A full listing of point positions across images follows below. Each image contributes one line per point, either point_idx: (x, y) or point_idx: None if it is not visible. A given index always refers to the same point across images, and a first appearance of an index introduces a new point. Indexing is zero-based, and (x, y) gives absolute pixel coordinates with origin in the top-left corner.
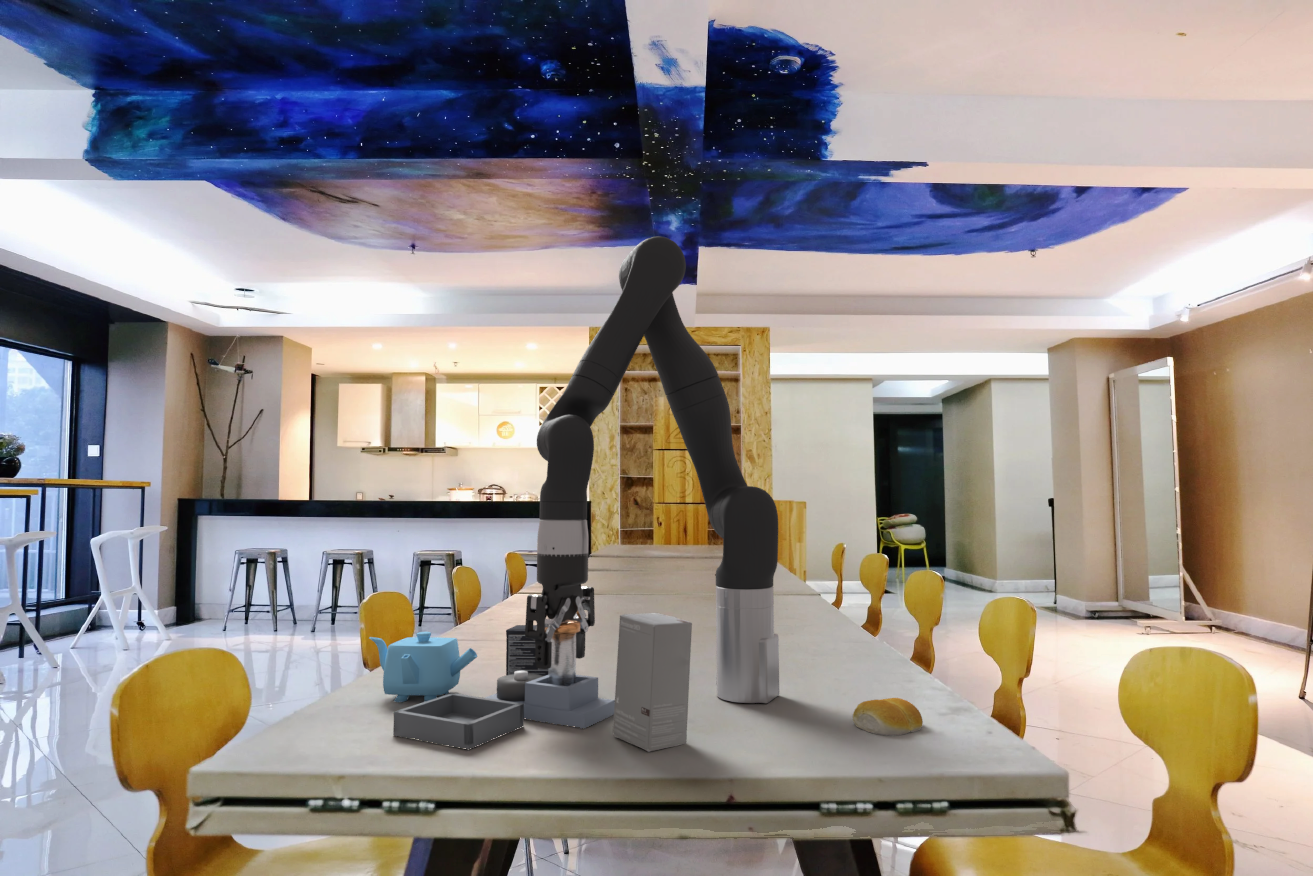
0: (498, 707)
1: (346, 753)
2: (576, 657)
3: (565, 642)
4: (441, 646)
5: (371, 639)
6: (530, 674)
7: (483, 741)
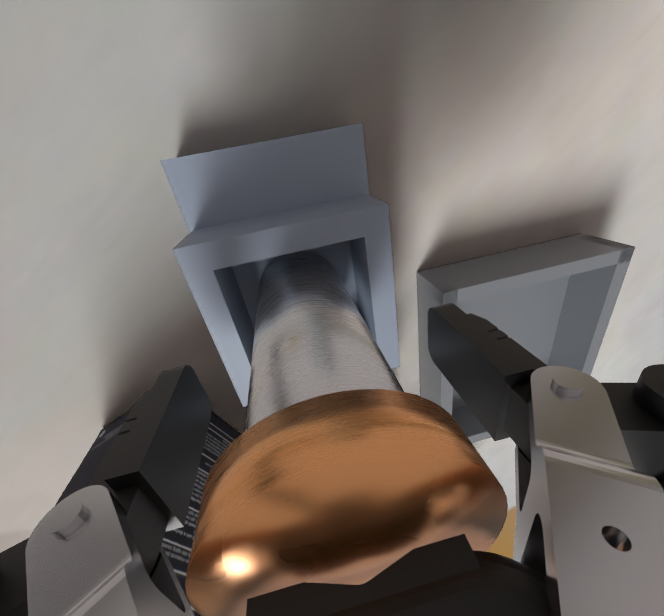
0: None
1: (623, 360)
2: (198, 386)
3: (381, 373)
4: None
5: None
6: None
7: (547, 243)
